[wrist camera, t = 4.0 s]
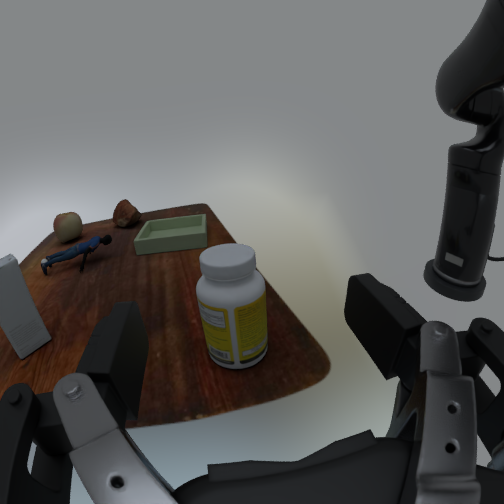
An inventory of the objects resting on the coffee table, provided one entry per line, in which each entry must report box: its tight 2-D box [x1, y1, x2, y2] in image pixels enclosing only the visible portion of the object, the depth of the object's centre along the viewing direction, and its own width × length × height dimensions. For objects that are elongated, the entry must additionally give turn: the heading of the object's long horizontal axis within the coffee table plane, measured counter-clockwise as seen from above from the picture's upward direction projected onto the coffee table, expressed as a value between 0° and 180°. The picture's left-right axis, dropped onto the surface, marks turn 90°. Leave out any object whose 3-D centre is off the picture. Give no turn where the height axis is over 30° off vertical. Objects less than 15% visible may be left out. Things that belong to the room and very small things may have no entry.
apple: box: [53, 212, 83, 242], centre depth 62 cm, size 9×9×8 cm
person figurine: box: [41, 235, 112, 275], centre depth 48 cm, size 11×4×18 cm
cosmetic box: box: [0, 254, 51, 359], centre depth 23 cm, size 6×4×12 cm
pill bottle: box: [196, 244, 268, 369], centre depth 25 cm, size 6×6×11 cm
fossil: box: [113, 199, 142, 227], centre depth 72 cm, size 13×8×10 cm
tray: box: [134, 214, 207, 255], centre depth 58 cm, size 15×14×3 cm
